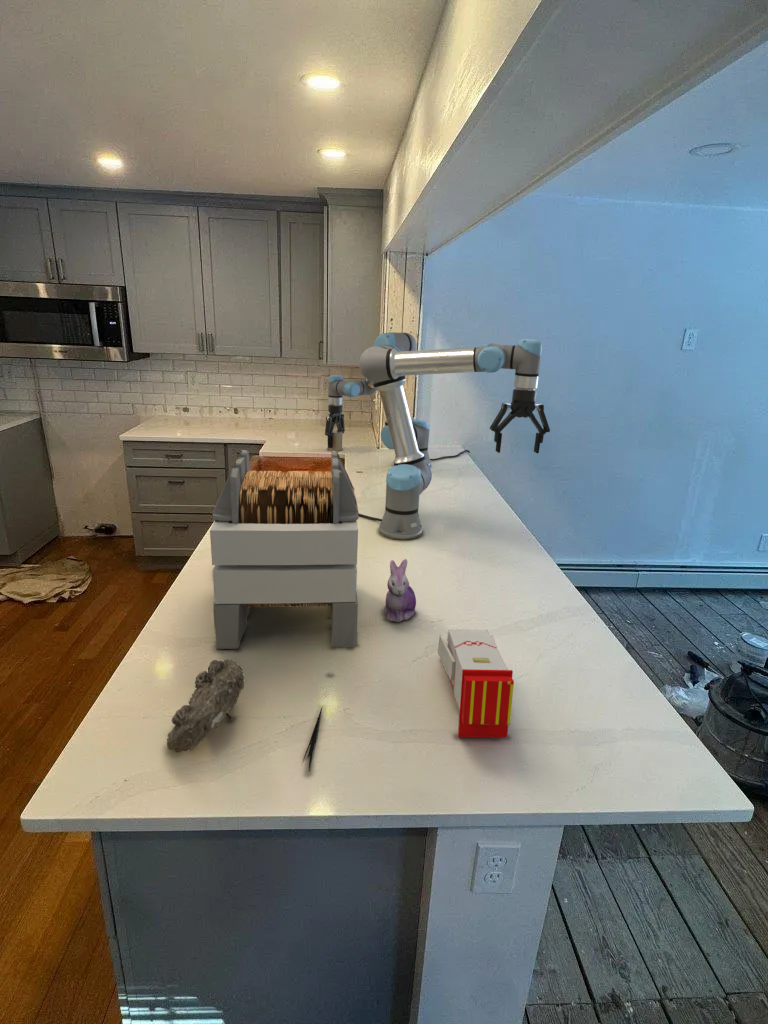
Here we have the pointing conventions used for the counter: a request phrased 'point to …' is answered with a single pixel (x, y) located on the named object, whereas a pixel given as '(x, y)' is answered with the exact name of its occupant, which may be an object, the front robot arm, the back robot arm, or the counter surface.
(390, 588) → the figurine
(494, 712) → the toy
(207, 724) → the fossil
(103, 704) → the counter surface
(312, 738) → the feather
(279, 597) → the record crate
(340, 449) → the canister
